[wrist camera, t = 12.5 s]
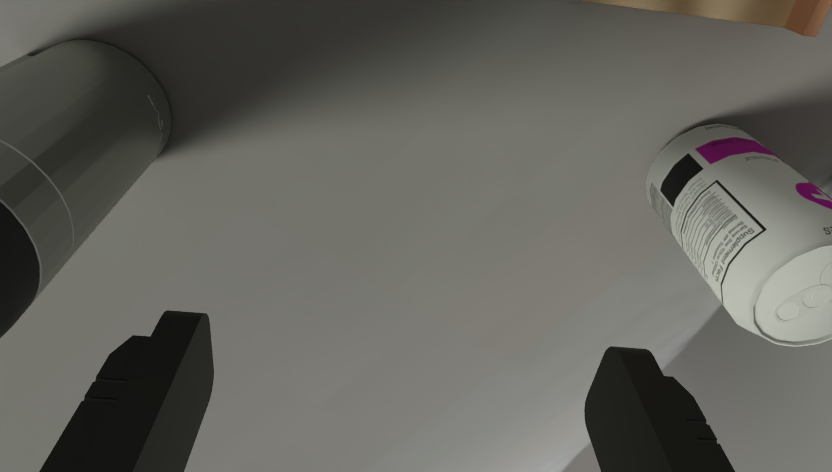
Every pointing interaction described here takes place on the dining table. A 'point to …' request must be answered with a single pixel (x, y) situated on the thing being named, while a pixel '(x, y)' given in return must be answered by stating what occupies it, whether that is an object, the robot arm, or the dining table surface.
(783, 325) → the supplement can
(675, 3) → the wooden plank
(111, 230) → the dining table surface
